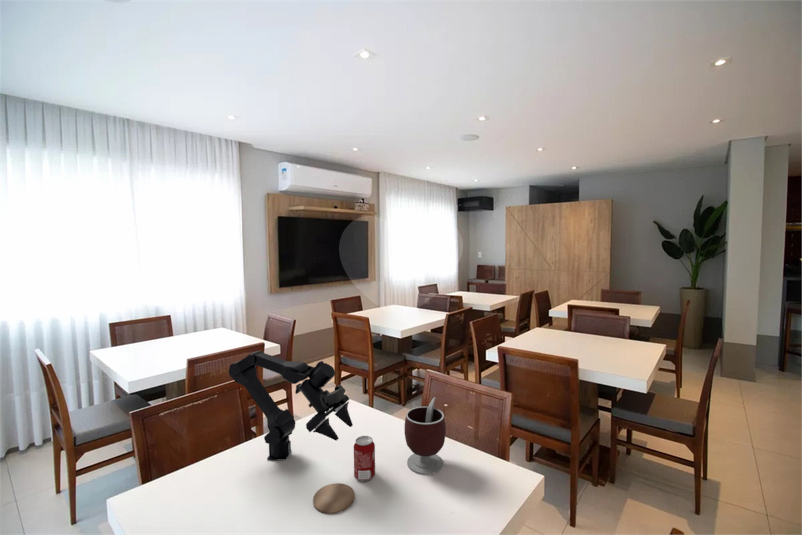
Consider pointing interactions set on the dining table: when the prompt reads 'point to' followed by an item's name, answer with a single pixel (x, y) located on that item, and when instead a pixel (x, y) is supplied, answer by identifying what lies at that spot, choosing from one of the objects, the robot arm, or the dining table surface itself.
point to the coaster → (333, 498)
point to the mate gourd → (425, 438)
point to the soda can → (364, 458)
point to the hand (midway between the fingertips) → (344, 432)
